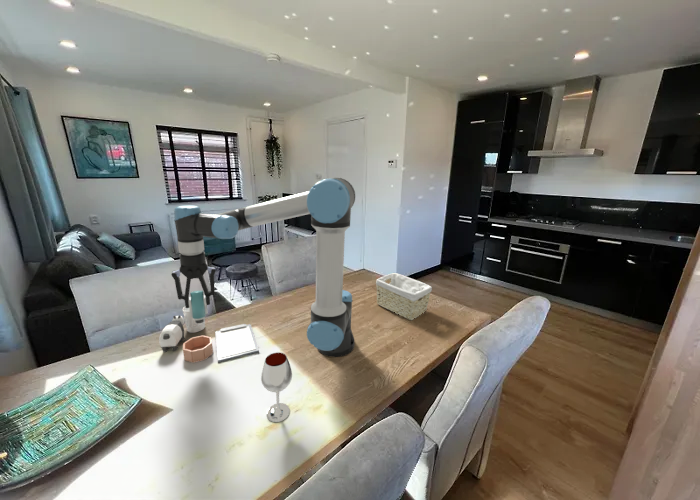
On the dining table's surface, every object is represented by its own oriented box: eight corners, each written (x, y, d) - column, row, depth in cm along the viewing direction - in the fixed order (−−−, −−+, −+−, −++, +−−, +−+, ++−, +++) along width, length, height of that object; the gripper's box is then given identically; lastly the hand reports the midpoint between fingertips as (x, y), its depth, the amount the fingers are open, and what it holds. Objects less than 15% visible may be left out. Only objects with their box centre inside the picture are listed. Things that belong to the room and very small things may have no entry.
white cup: (197, 334, 114) (194, 313, 111) (181, 332, 115) (177, 310, 113) (210, 324, 121) (208, 304, 119) (194, 322, 123) (192, 301, 120)
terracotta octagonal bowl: (213, 357, 101) (212, 347, 100) (184, 364, 97) (182, 353, 96) (212, 343, 109) (211, 333, 108) (185, 349, 105) (183, 339, 103)
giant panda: (176, 353, 103) (172, 330, 100) (159, 354, 102) (155, 331, 99) (191, 331, 117) (188, 310, 114) (176, 331, 116) (173, 311, 113)
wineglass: (266, 401, 83) (263, 349, 78) (294, 400, 84) (293, 349, 79) (260, 425, 75) (256, 370, 70) (291, 424, 76) (289, 369, 71)
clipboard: (259, 352, 105) (258, 348, 105) (218, 362, 99) (217, 358, 98) (250, 325, 122) (250, 322, 122) (215, 333, 116) (214, 329, 115)
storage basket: (430, 312, 140) (433, 285, 136) (411, 323, 129) (415, 294, 125) (392, 296, 156) (394, 271, 152) (373, 304, 145) (374, 278, 141)
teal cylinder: (205, 322, 99) (203, 292, 97) (193, 325, 97) (189, 294, 96) (206, 319, 102) (203, 289, 101) (193, 321, 100) (190, 291, 99)
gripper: (219, 247, 101) (224, 305, 108) (163, 251, 94) (172, 313, 100) (220, 253, 94) (225, 314, 101) (160, 257, 87) (170, 323, 94)
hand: (199, 313), depth 101 cm, fingers closed on teal cylinder, 4 cm apart
